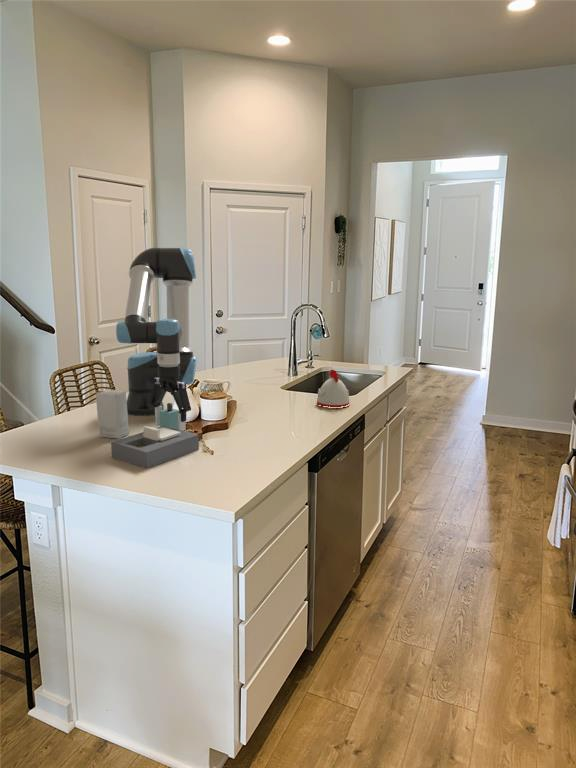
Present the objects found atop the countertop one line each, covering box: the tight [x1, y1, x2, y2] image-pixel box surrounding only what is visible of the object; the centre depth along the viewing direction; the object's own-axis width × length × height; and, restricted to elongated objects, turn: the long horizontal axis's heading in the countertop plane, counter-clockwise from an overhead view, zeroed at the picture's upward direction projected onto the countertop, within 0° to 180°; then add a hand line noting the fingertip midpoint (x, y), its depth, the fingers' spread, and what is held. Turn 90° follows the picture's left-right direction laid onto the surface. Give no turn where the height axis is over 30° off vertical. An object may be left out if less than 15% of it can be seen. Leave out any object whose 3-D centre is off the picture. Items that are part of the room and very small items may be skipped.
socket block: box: [110, 426, 200, 469], centre depth 185 cm, size 16×22×5 cm
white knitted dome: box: [316, 369, 350, 407], centre depth 249 cm, size 14×14×15 cm
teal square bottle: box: [159, 402, 180, 429], centre depth 203 cm, size 5×5×12 cm
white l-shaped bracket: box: [142, 425, 181, 441], centre depth 186 cm, size 8×9×3 cm
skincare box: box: [95, 389, 130, 440], centre depth 201 cm, size 8×7×16 cm
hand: (170, 427), depth 203 cm, fingers open, 10 cm apart
